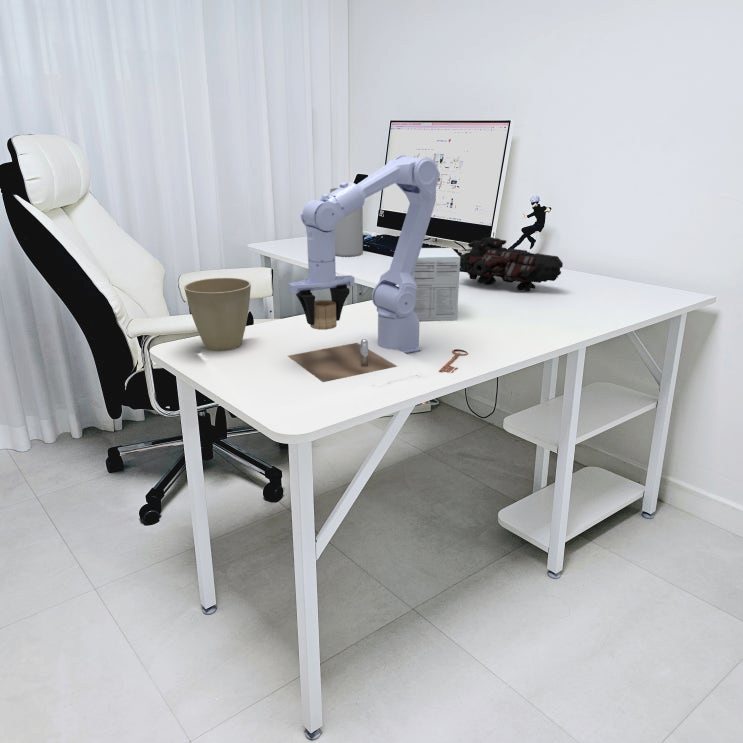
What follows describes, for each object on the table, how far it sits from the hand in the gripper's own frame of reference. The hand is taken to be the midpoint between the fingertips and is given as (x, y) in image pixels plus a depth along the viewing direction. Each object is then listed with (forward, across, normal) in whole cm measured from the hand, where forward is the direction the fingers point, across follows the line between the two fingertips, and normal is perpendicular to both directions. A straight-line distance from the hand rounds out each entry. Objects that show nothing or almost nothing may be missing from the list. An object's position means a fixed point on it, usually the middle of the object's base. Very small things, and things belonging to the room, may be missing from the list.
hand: (323, 321), depth 143 cm
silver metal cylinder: (+9, -6, +7) cm, 13 cm away
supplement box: (+11, -44, -22) cm, 50 cm away
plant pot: (+10, +16, -21) cm, 29 cm away
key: (+11, -27, +12) cm, 32 cm away
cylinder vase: (+11, -63, -108) cm, 125 cm away
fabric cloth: (+10, -3, +2) cm, 11 cm away
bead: (+1, 0, 0) cm, 1 cm away
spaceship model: (+11, -84, -34) cm, 91 cm away
